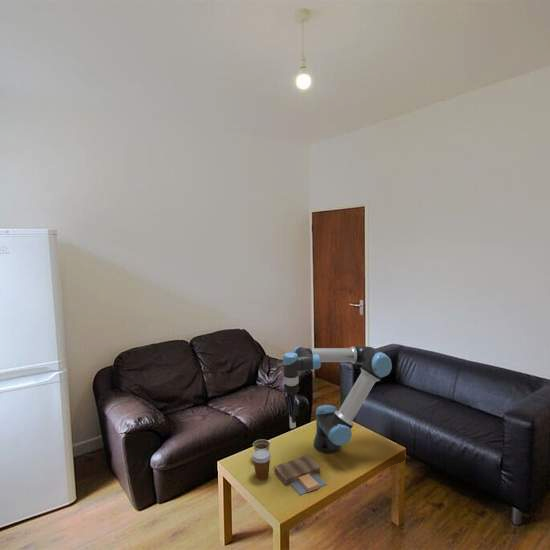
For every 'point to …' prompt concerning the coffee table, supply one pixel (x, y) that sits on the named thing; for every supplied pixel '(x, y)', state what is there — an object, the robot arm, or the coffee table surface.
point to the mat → (302, 490)
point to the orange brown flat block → (308, 482)
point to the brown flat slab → (296, 469)
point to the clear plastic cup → (261, 444)
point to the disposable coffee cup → (261, 463)
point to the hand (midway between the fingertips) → (292, 427)
